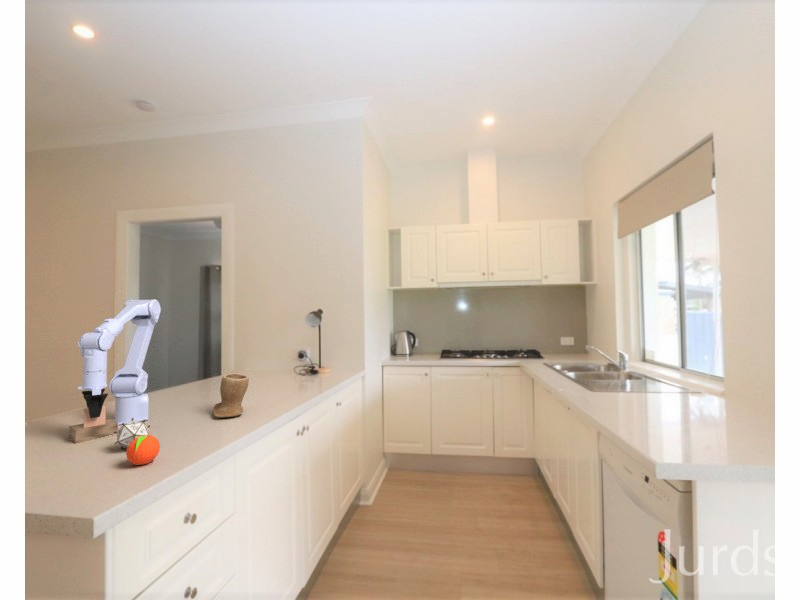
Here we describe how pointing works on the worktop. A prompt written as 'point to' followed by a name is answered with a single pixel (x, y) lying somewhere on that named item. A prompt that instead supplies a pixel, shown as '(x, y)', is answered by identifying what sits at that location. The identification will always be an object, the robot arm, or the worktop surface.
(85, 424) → the terracotta cube
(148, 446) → the clementine
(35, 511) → the worktop surface
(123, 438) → the game die
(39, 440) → the worktop surface
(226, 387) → the brown boot
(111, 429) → the walnut block
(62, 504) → the worktop surface
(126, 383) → the robot arm
